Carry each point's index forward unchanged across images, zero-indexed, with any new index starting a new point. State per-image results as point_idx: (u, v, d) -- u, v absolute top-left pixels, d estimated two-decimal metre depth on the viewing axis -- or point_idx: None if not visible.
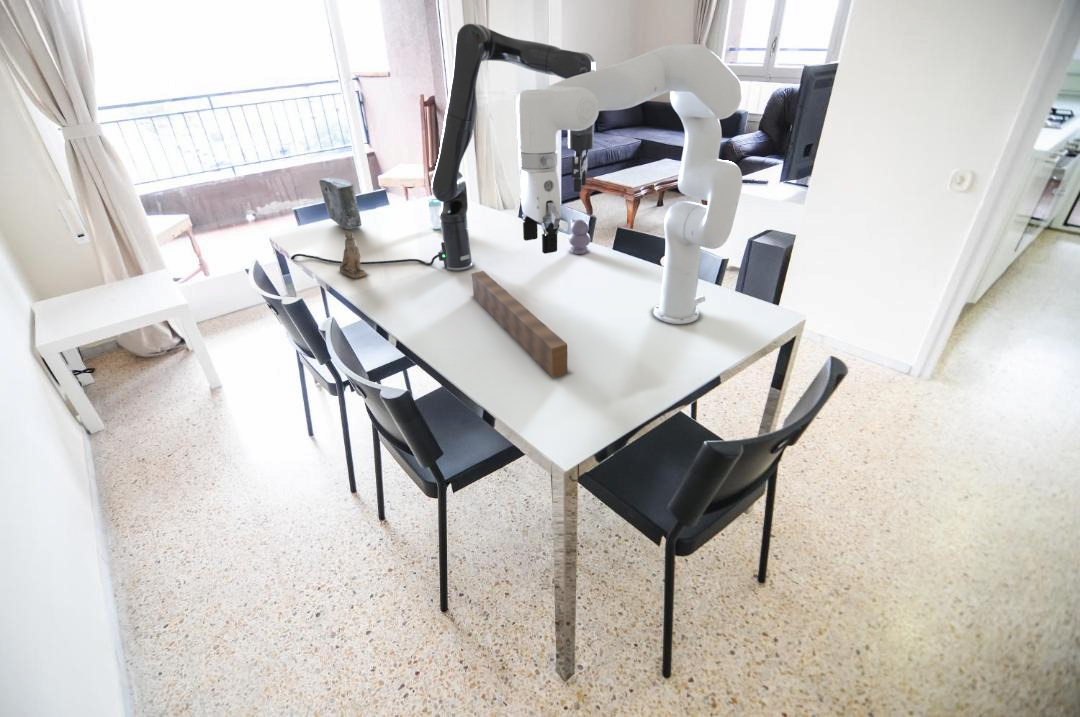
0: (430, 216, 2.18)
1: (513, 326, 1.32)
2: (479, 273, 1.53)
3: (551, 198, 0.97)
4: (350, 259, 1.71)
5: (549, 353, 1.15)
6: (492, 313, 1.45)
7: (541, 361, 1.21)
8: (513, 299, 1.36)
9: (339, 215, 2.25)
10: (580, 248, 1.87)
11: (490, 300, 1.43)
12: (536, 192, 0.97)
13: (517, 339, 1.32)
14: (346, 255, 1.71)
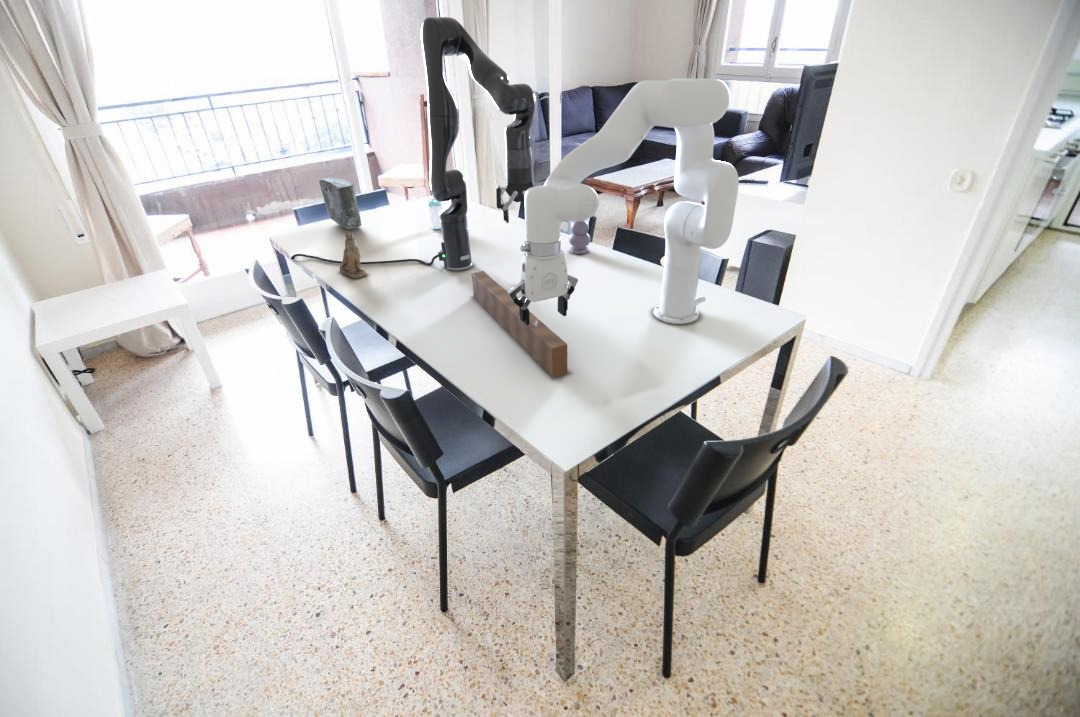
0: (430, 216, 2.18)
1: (513, 326, 1.32)
2: (479, 273, 1.53)
3: (523, 279, 1.08)
4: (350, 259, 1.71)
5: (549, 353, 1.15)
6: (492, 313, 1.45)
7: (541, 361, 1.21)
8: None
9: (339, 215, 2.25)
10: (580, 248, 1.87)
11: (490, 300, 1.43)
12: None
13: (517, 339, 1.32)
14: (346, 255, 1.71)
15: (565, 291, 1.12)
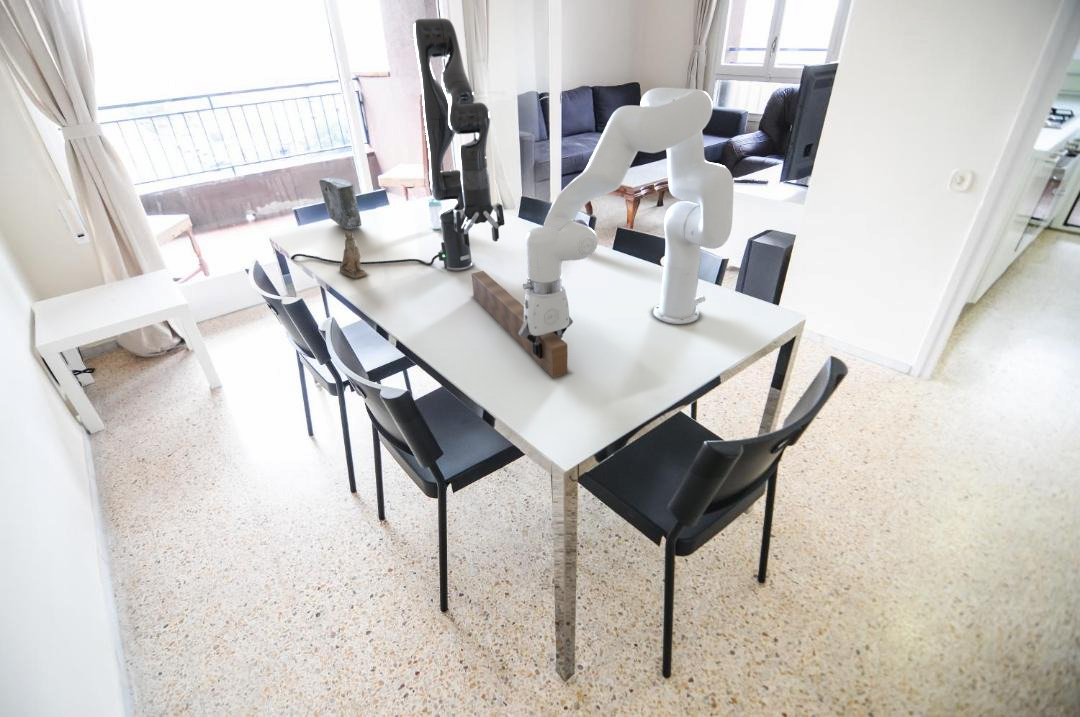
0: (430, 216, 2.18)
1: (513, 326, 1.32)
2: (479, 273, 1.53)
3: (526, 314, 1.13)
4: (350, 259, 1.71)
5: (549, 353, 1.15)
6: (492, 313, 1.45)
7: (541, 361, 1.21)
8: (513, 299, 1.36)
9: (339, 215, 2.25)
10: None
11: (490, 300, 1.43)
12: None
13: (517, 339, 1.32)
14: (346, 255, 1.71)
15: (567, 324, 1.16)
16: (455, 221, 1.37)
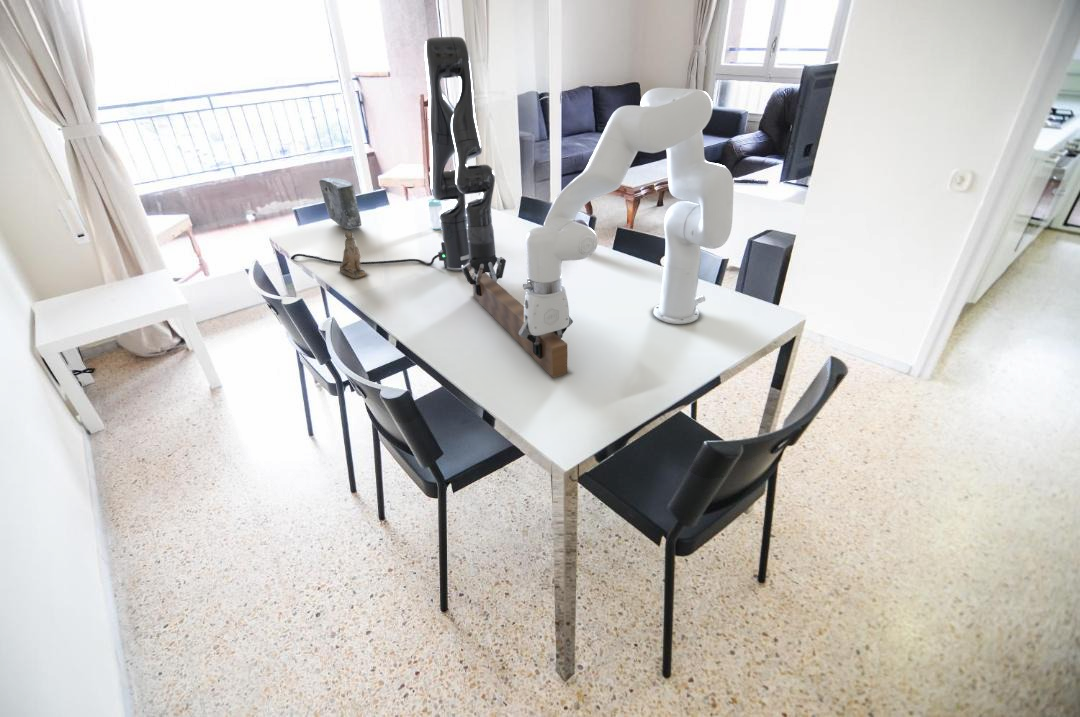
0: (430, 216, 2.18)
1: (513, 326, 1.32)
2: None
3: (526, 314, 1.13)
4: (350, 259, 1.71)
5: (549, 353, 1.15)
6: (492, 313, 1.45)
7: (541, 361, 1.21)
8: (513, 299, 1.36)
9: (339, 215, 2.25)
10: None
11: (490, 300, 1.43)
12: None
13: (517, 339, 1.32)
14: (346, 255, 1.71)
15: (567, 324, 1.16)
16: (465, 275, 1.45)
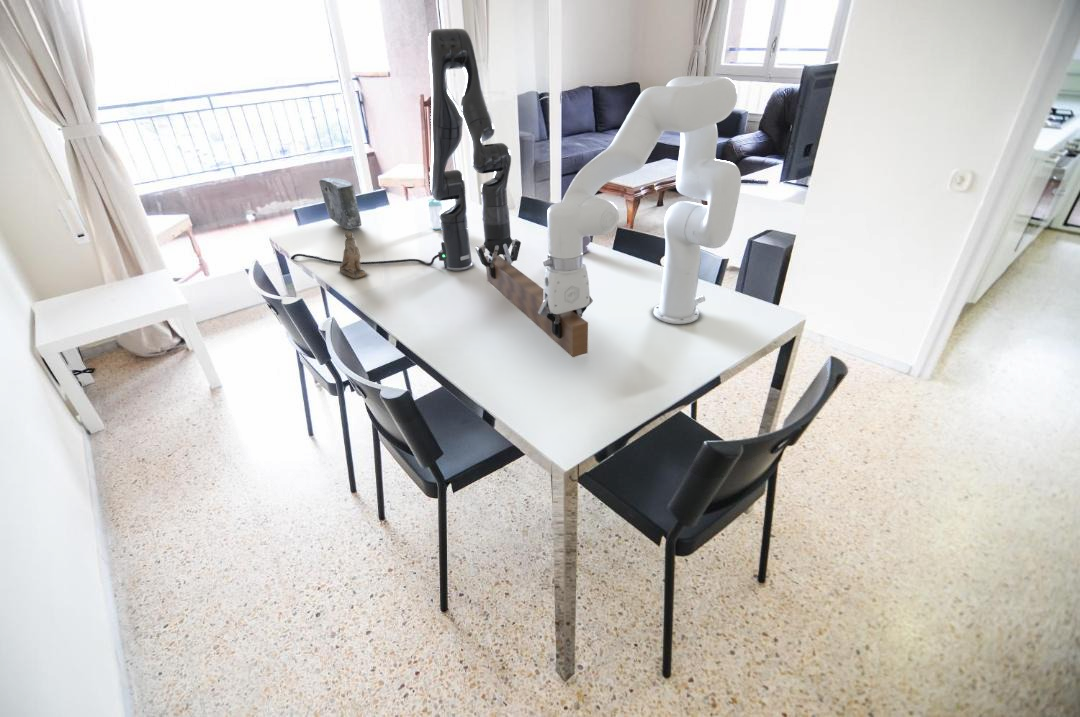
0: (430, 216, 2.18)
1: (530, 307, 1.30)
2: None
3: (546, 292, 1.11)
4: (350, 259, 1.71)
5: (569, 332, 1.13)
6: (507, 296, 1.43)
7: (560, 341, 1.19)
8: (529, 280, 1.34)
9: (339, 215, 2.25)
10: None
11: (505, 282, 1.42)
12: None
13: (534, 320, 1.30)
14: (346, 255, 1.71)
15: (587, 303, 1.15)
16: (480, 257, 1.44)
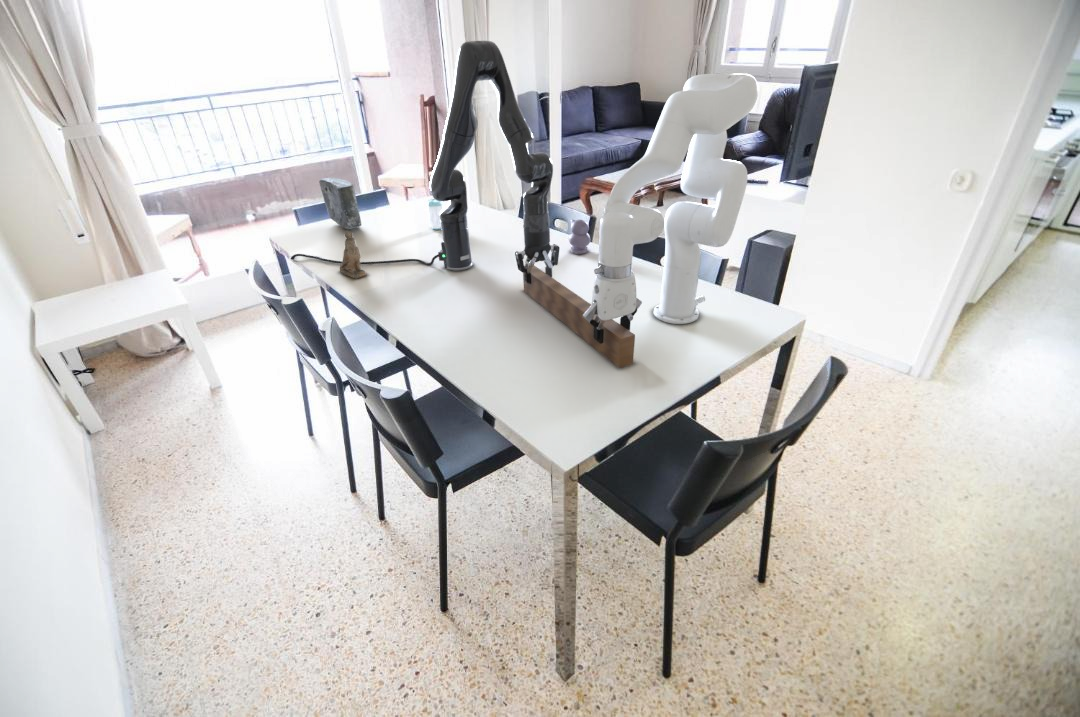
0: (430, 216, 2.18)
1: (573, 319, 1.34)
2: None
3: (596, 299, 1.14)
4: (350, 259, 1.71)
5: (616, 343, 1.17)
6: (547, 306, 1.47)
7: (605, 352, 1.23)
8: (571, 292, 1.38)
9: (339, 215, 2.25)
10: (580, 248, 1.87)
11: (545, 293, 1.46)
12: None
13: (577, 331, 1.34)
14: (346, 255, 1.71)
15: (634, 309, 1.18)
16: (518, 262, 1.46)
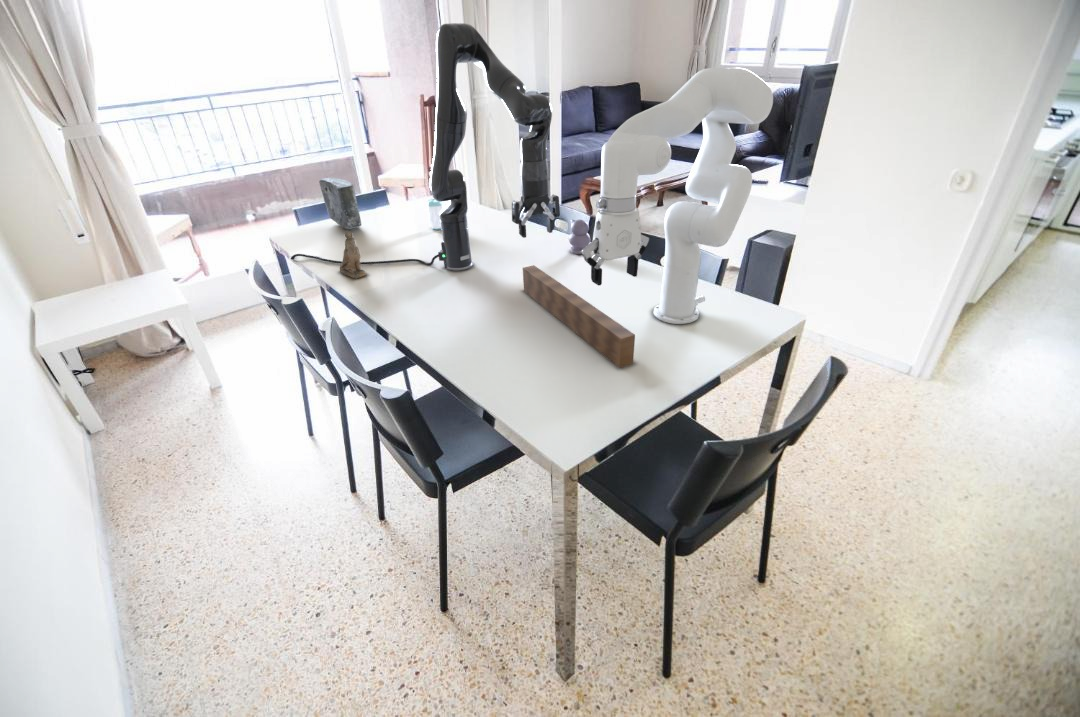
0: (430, 216, 2.18)
1: (573, 319, 1.34)
2: (531, 268, 1.55)
3: (598, 237, 1.06)
4: (350, 259, 1.71)
5: (616, 343, 1.17)
6: (547, 306, 1.47)
7: (605, 352, 1.23)
8: (571, 292, 1.38)
9: (339, 215, 2.25)
10: (580, 248, 1.87)
11: (545, 293, 1.46)
12: None
13: (577, 331, 1.34)
14: (346, 255, 1.71)
15: (638, 250, 1.10)
16: (513, 212, 1.38)
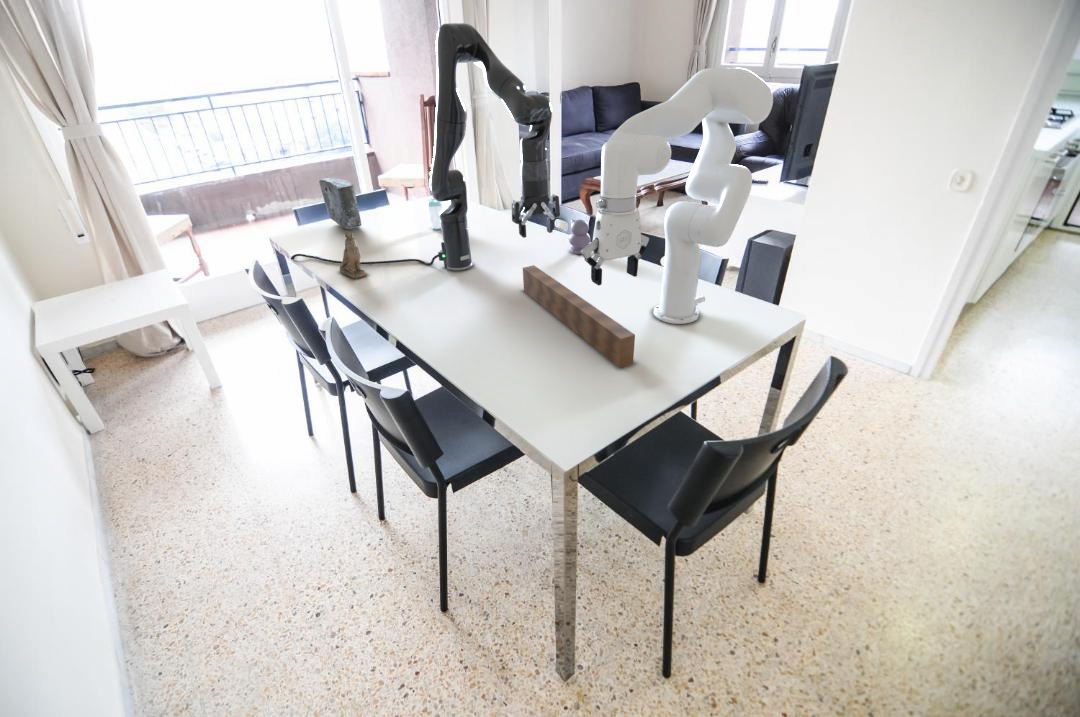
0: (430, 216, 2.18)
1: (573, 319, 1.34)
2: (531, 268, 1.55)
3: (598, 236, 1.06)
4: (350, 259, 1.71)
5: (616, 343, 1.17)
6: (547, 306, 1.47)
7: (605, 352, 1.23)
8: (571, 292, 1.38)
9: (339, 215, 2.25)
10: (580, 248, 1.87)
11: (545, 293, 1.46)
12: None
13: (577, 331, 1.34)
14: (346, 255, 1.71)
15: (638, 250, 1.10)
16: (513, 212, 1.38)
